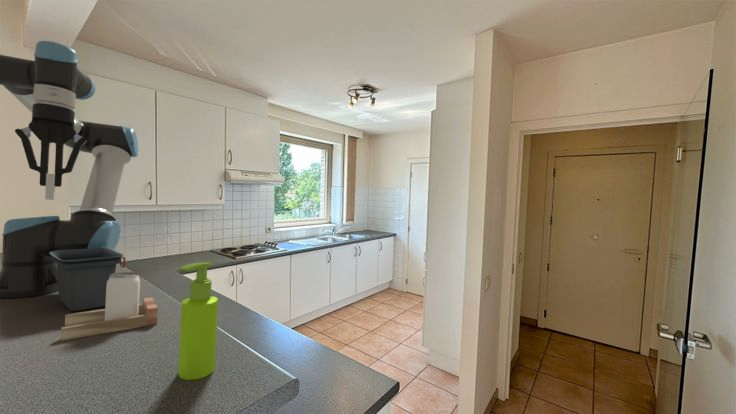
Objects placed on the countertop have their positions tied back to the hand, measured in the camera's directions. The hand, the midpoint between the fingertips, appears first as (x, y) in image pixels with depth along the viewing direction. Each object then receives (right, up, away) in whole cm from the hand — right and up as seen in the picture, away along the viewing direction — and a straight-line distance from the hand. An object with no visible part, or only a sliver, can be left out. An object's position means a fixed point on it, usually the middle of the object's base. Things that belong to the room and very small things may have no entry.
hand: (50, 199), depth 79 cm
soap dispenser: (+49, -32, -22) cm, 63 cm away
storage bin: (0, -30, +11) cm, 31 cm away
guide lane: (+18, -30, -4) cm, 36 cm away
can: (+20, -31, -3) cm, 37 cm away
